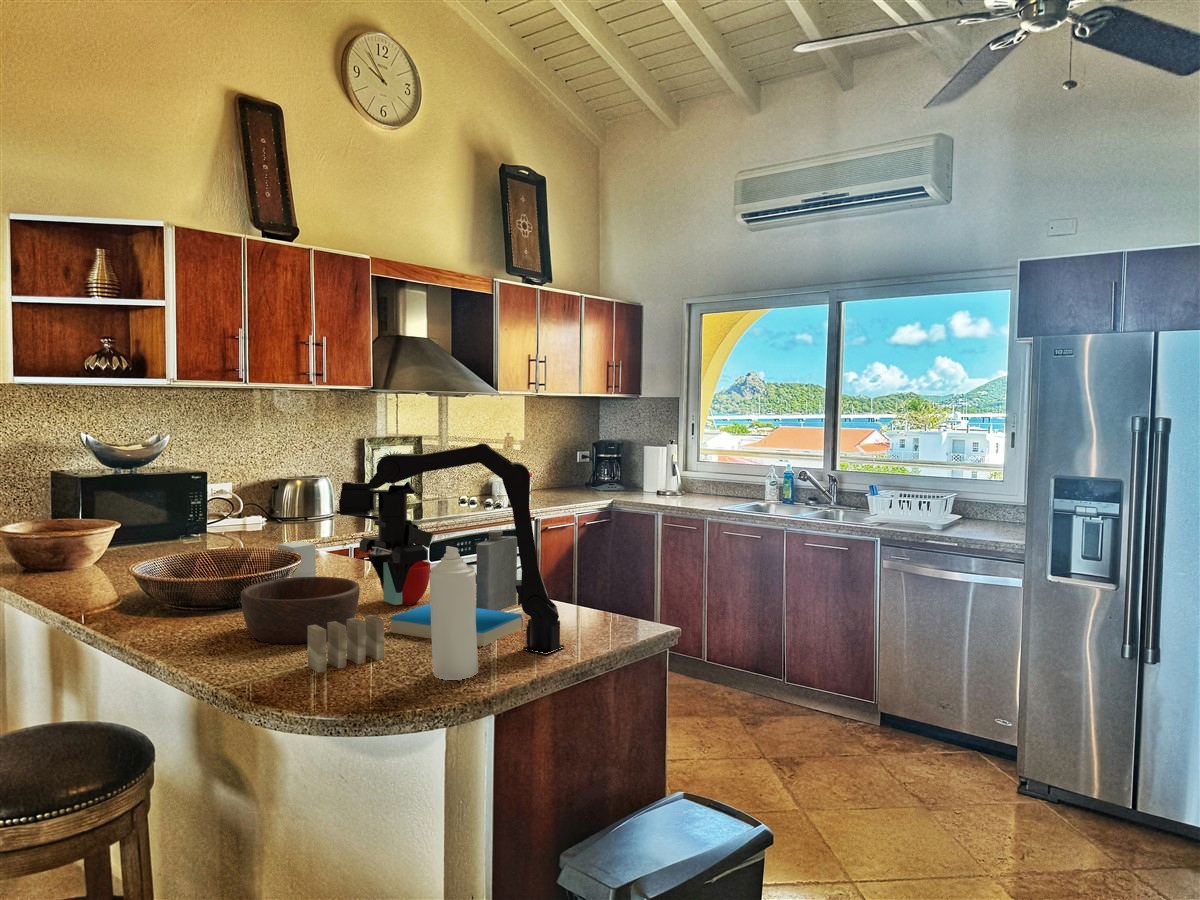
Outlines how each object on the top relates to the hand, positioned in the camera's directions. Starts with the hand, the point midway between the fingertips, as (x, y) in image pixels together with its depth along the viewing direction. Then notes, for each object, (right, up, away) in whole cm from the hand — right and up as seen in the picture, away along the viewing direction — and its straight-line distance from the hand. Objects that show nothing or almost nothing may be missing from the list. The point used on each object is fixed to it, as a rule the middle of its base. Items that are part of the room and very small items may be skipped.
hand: (392, 590), depth 167 cm
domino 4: (-3, -13, -2) cm, 14 cm away
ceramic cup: (-8, -11, +46) cm, 48 cm away
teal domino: (0, -2, 0) cm, 2 cm away
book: (+10, -13, +18) cm, 24 cm away
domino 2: (-9, -13, -8) cm, 18 cm away
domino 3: (-6, -13, -5) cm, 15 cm away
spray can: (+15, -14, -14) cm, 25 cm away
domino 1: (-12, -13, -10) cm, 21 cm away
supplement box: (-41, -10, +58) cm, 72 cm away
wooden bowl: (-24, -12, +15) cm, 31 cm away
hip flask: (+16, -12, +39) cm, 43 cm away
